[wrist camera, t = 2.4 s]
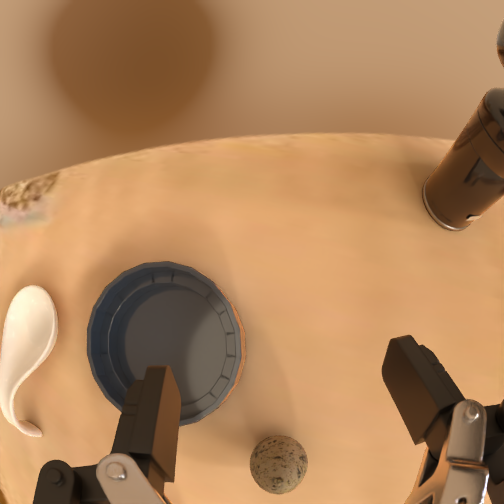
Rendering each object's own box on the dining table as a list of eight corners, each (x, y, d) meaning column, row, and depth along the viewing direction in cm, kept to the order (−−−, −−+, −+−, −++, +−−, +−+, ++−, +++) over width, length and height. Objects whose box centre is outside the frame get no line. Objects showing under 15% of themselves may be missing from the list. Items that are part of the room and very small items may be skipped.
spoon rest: (28, 284, 38) (-2, 272, 31) (76, 297, 37) (44, 285, 30) (14, 417, 31) (-15, 419, 24) (62, 446, 29) (31, 455, 23)
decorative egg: (244, 459, 29) (232, 495, 19) (268, 420, 30) (264, 447, 21) (288, 478, 27) (291, 518, 18) (313, 440, 29) (326, 471, 19)
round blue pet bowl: (186, 245, 38) (174, 230, 33) (278, 360, 32) (278, 361, 28) (86, 327, 35) (65, 323, 30) (161, 442, 30) (145, 454, 25)
